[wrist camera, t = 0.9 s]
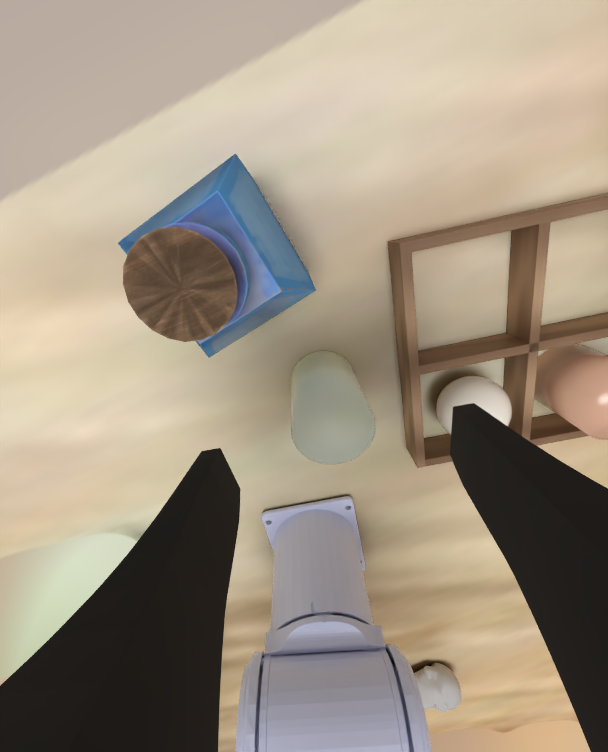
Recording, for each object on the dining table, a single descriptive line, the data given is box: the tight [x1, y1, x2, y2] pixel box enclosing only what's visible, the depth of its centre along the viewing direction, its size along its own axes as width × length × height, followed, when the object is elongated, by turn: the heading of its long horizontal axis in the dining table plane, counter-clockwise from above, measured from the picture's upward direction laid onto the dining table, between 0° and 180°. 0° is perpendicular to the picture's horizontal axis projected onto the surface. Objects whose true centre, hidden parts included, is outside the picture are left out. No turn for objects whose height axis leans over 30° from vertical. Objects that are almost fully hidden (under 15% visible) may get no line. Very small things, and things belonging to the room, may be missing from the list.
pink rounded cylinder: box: [534, 343, 608, 440], centre depth 22 cm, size 5×5×5 cm
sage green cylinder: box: [291, 351, 375, 464], centre depth 21 cm, size 5×5×6 cm
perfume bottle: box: [118, 154, 316, 357], centre depth 15 cm, size 6×6×12 cm
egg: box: [436, 376, 512, 435], centre depth 23 cm, size 5×5×5 cm
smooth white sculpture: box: [414, 663, 461, 712], centre depth 39 cm, size 4×8×5 cm
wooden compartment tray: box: [388, 193, 608, 468], centre depth 22 cm, size 16×16×2 cm
